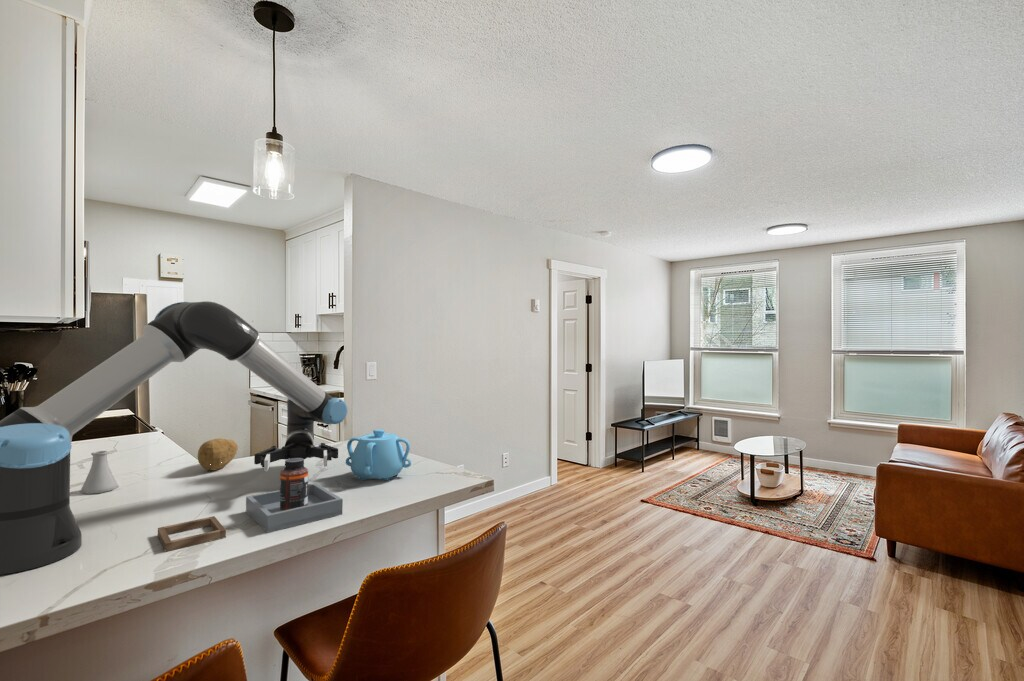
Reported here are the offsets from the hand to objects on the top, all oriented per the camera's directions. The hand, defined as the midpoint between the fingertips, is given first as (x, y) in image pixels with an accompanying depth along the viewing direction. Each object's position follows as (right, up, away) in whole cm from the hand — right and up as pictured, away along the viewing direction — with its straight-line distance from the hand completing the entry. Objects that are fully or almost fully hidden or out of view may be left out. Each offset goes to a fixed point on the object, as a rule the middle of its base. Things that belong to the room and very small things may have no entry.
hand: (296, 463), depth 120 cm
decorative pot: (+14, -9, +22) cm, 28 cm away
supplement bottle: (+3, -8, -9) cm, 13 cm away
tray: (+3, -9, -9) cm, 13 cm away
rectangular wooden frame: (-11, -9, -23) cm, 27 cm away
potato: (-36, -9, +28) cm, 47 cm away
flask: (-53, -8, +5) cm, 54 cm away
